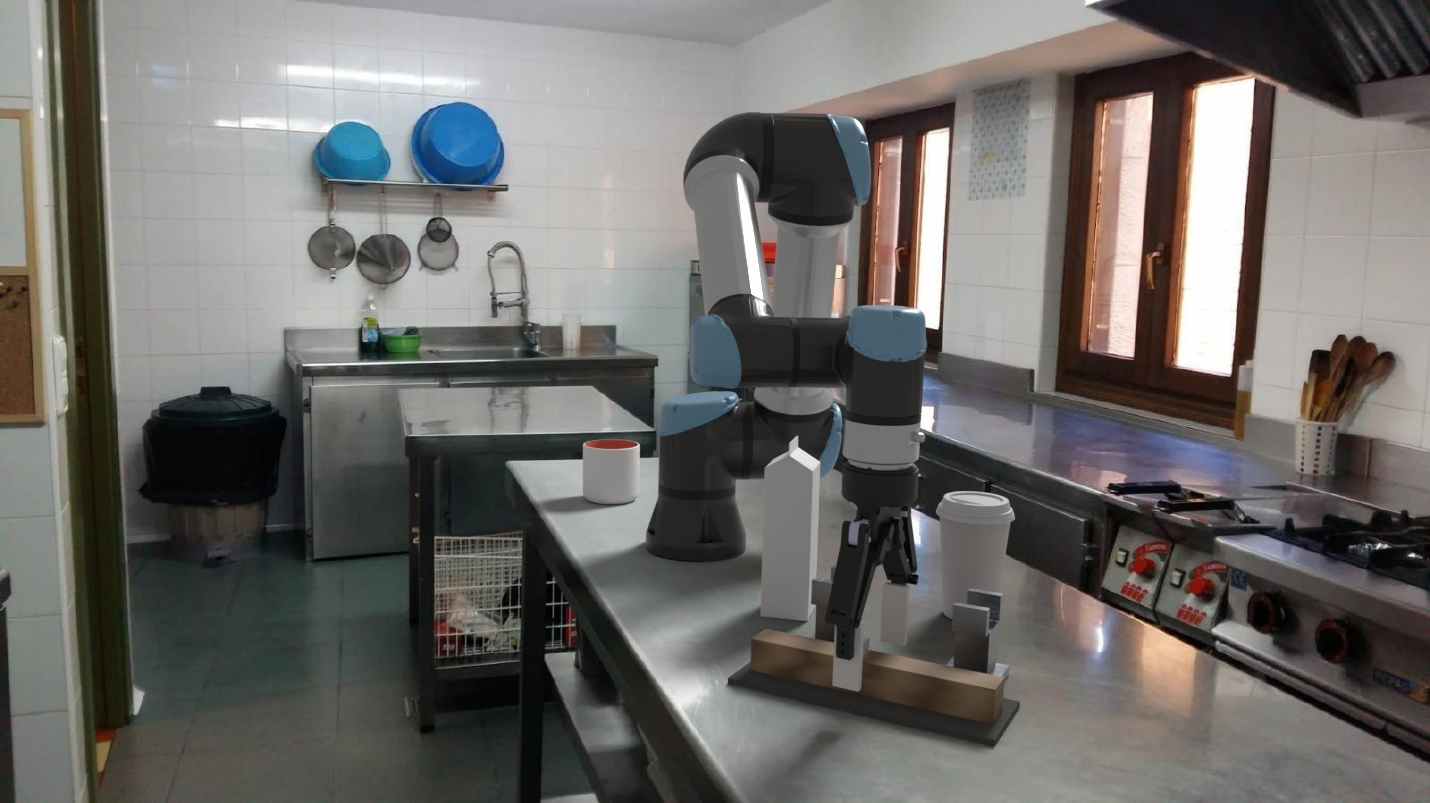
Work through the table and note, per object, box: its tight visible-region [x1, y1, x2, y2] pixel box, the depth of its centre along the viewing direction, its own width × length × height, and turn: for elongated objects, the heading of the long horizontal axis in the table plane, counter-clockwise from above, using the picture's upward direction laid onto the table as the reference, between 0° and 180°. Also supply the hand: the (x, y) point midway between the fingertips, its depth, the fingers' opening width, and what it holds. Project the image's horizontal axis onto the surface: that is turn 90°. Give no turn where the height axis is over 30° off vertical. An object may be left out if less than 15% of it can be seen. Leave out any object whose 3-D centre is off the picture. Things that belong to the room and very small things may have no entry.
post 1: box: [809, 564, 871, 650], centre depth 125 cm, size 6×7×9 cm
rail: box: [750, 628, 1006, 725], centre depth 112 cm, size 26×4×4 cm, turn 62°
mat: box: [727, 661, 1021, 747], centre depth 113 cm, size 28×10×1 cm, turn 62°
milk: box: [760, 436, 821, 622], centre depth 136 cm, size 6×6×22 cm
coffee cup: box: [935, 490, 1016, 622], centre depth 137 cm, size 10×10×15 cm
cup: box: [582, 438, 641, 505], centre depth 194 cm, size 10×10×10 cm
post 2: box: [945, 588, 1010, 681], centre depth 117 cm, size 6×7×9 cm
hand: (871, 664), depth 113 cm, fingers open, 13 cm apart
